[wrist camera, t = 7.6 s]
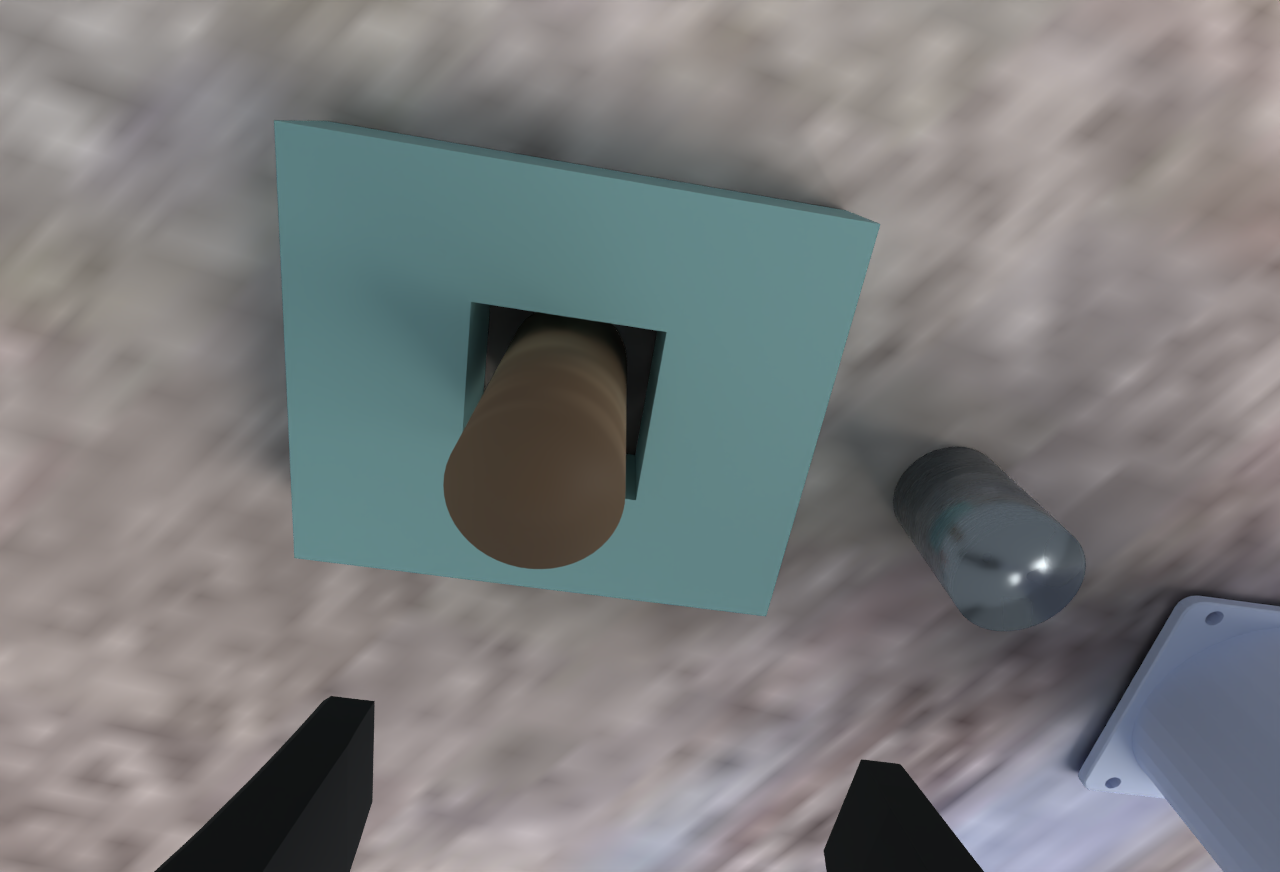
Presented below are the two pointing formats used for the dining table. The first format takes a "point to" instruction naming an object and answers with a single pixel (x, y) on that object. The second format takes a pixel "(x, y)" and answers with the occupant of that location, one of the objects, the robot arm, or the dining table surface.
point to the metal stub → (987, 540)
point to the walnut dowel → (545, 447)
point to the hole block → (567, 286)
